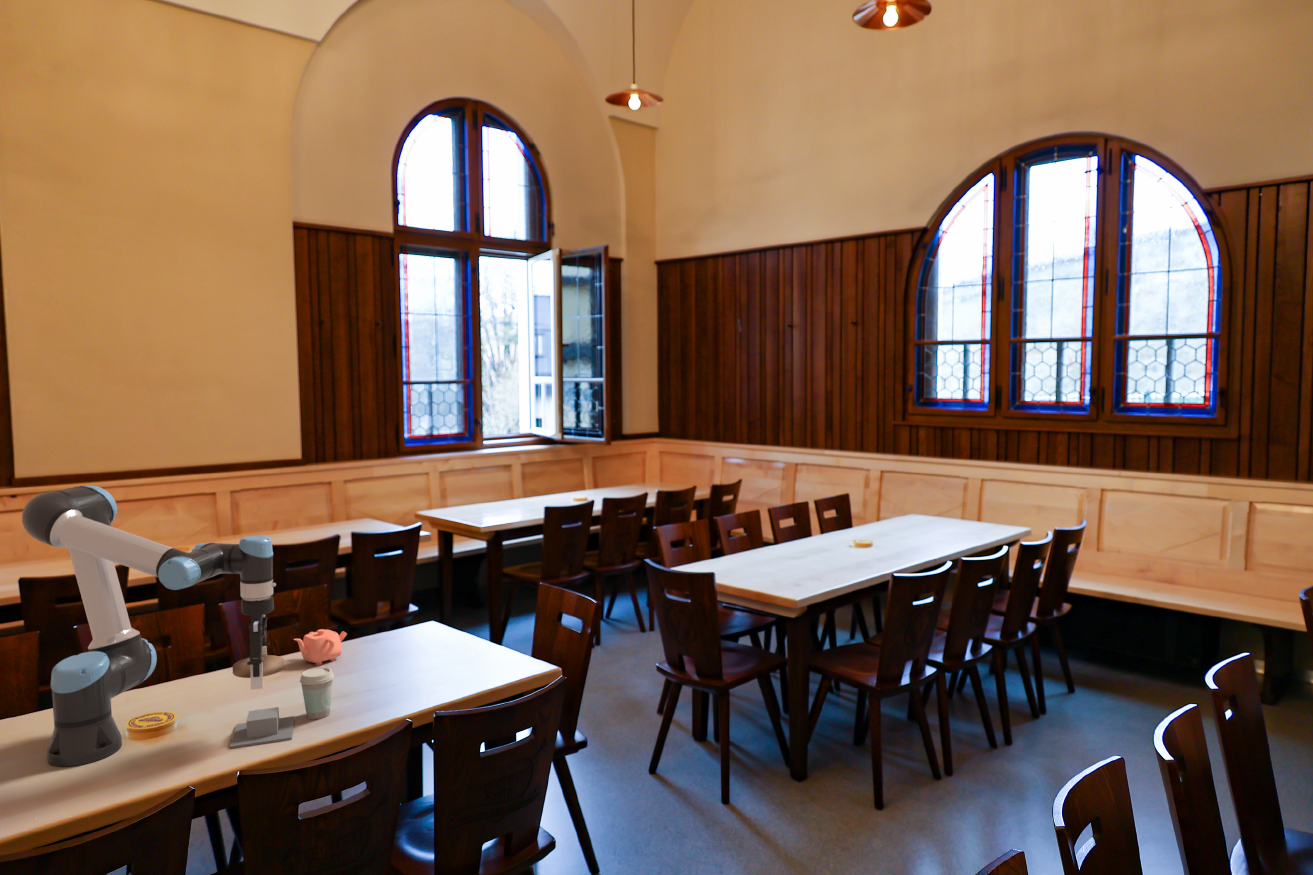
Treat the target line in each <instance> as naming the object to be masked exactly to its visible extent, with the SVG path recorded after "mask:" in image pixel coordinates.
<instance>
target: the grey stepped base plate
mask: <svg viewBox="0 0 1313 875" xmlns="http://www.w3.org/2000/svg"><path fill="white" fill-rule="evenodd" d="M279 709H280V708H279V706H276V707H269V708H262V709H255V710H249V711H248V714H247V717H246V720H245V721H246V722H243V723H236V724H235V728H234V732H233V734H232V738H231V740H230V741H231V742H230V744H229V749H230V750H232V749H236V748H237V749H238V748H245V747H251V746H258V745H265V744H270V743H271V744H272V743H278V742H284V741H292V739H293V733H294V732H293V731H294V726H295V715H294V716H293V715H292V716H288V717H287V716H286V717H280V710H279Z"/></svg>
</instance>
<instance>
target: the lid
mask: <svg viewBox="0 0 1313 875" xmlns="http://www.w3.org/2000/svg"><path fill="white" fill-rule="evenodd" d="M253 659H258V658H253ZM249 661H250V656H249V657H246V658H241V659H240V660H238V661H236V662H235V663H233V664H232V674H233V676H235V677H238V678H244V679H251V673H250V665H247V662H249ZM262 662H263V678H264V677H268V676H271V675H275V674H277V673H280V672H281V671H283V670H284V669H285V658H284V657H282V656H278V655H273V654H271V655H270V654H267V655H263V656H262Z"/></svg>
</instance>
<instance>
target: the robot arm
mask: <svg viewBox="0 0 1313 875" xmlns="http://www.w3.org/2000/svg"><path fill="white" fill-rule="evenodd" d="M114 498H115V497H113V496H112V494H111V493H110V492H109V491H108V490H106V489H104V488H102V487H100V486H97V485H80V486H79V485H76V486H74V487H69V488H63V489H58V490H53V491H46V492H43V493H39V494H38V495H35V496H34V497H33V498H31V499H30V500H29V501H28V502H27V503H26V504H25V506H24V508H23V510H22V514H21V523H22V526H23V528H24V530H25V532H26V533H27V534H28V535H29V536H31V537H32V538H33V539H35V540H37V541H39V542H41V543H43V544H46V545H49V546H53V547H55V548H65V549H67V550H68V552H69V556H70V560H71V563H72V566H73V571H74V574H75V578H76V582H77V585H78V588H79V592H80V595H81V600H82V603H83V607H84V610H85V614H86V618H87V619H86V620H87V622H88V626H89V630H90V633H91V636H92V640H91V641H90V643H89V645H88V646H87V650H88V651H86V652H81V653H79V654H77V655H76V654H74V655H71V656H68V657H66V658H64V659H62V660H60V661H59V662H58V663H57V664H55V665H54V666H53V668H52V670H51V675H50V676H51V678H50V688H51V699H52V711H53V713H52V714H53V724H54V725H53V726H54V728H53V730H52V735H51V738H50V741H49V745H48V747H47V751H46V757H47V758H46V759H47V763H48V764H50V765H51V766H55V767H73V766H81V765H84V764H85V765H86V764H89V763H93V762H96V761H99V760H102V759H105V758H107V757H109V756H111V755H114V754H115V753H116V752H118V751H119V750H120V749H121V748H122V746H123V741H122V740H123V738H122V734H121V731H120V730H119V727H118V726H117V724H116V722H115V720H114V717H113V716H112V715H113V713H112V699H113V698H114V697H117V696H118V695H120V694H122V693H124V692H126V691H128V690H130V689H132V688H134V687H137V686H138V685H140V684H142V683H143V682H144V681H146V680H147V679H149V677H150V676H151V675H152V673H153V672H154V671H155V669H156V665H157V661H158V660H157V659H158V658H157V651H156V649H155V647H154V645H153V644H152V643H150V642H148V640H147V639H146V638H142V635H141V633H140V631H139V630H137V629H135V628H133V627H132V626H131V625H132V624H131V622H130V618H129V614H128V611H127V606H126V603H125V599H124V595H123V592H122V588H121V584H120V581H119V577H118V573H117V570H116V566H115V563H116V564H119V565H122V566H124V567H128V568H131V569H133V570H137V571H138V572H141V573H145V574H148V575H150V576H154V577H156V578H158V580H159V582H160V583H161V584H162V585H163V586H164V587H165V588H166V589H168V590H172V591H177V590H182V589H186V588H187V589H188V588H189V587H192V586H193V585H195V584H198V583H200V582H203V581H205V580H207V579H210V578H213V577H215V576H217V575H219V574H220V575H221V574H232V575H233V574H236V575H238V574H239V576H240V581H239V582H240V586H239V588H240V597H241V600H240V608H241V609H240V611H241V614H242V615H244V616H250V617H251V618H250V617H249V621H248V628H249V634H248V636H249V657H250V661H249V662H247V665H250V673H251V678H250V690H259V689H264V677H263V662H262V656H263V655H268V652H267V650H268V649H267V647H268V646H269V645H270V640H268V637H267V628H268V627H267V624H268V617H267V616H266V615H267V614H270V613H272V612H273V611H274V610H275V603H274V600H275V599H274V596H273V594H274V587H276V586H277V583H276V582H274V573H273V572H274V568H273V567H274V562H273V561H274V560H273V558H274V551H273V542H272V540H273V539H272V538H271V537H269V536H268V535H265V534H264V535H261V534H259V535H246V536H243V537H241V538H240V539H239V543H223V542H222V543H221V542H220V543H217V542H214V541H213V542H207V543H206V542H202V543H198V544H196V545H195V547H194V548H193V549H192V550H191V551H190V552H186V551H184V550H181V549H177V548H175V547H172V546H169V545H166V544H162V543H160V542H158V541H153V540H151V539H149V538H147V537H146V538H145V537H142V536H140V535H137V534H134V533H131V532H130V531H129V532H128V531H125V530H123V529H120V528H117V527H114V526H112V525H111V524H112V523H113V522H114V521H115V519H116V518H115V517H116V516H117V515H118V514H117V513H118V506H117V502H116V501H115V499H114ZM253 658H258V659H253Z"/></svg>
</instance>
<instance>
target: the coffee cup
mask: <svg viewBox="0 0 1313 875" xmlns="http://www.w3.org/2000/svg"><path fill="white" fill-rule="evenodd" d="M334 678H335V675H334V672H333V670H332V668H330V667H328V666H327V667H325V666H319V667H318V666H317V667H313V668H309V669H307V670H304V671H303V672H301V676H300V679H299V683H300V685H301V690H302V696H303V701H304V702H303V703H304V707H305V708H304V709H305V713H306V714H305V715H306V718H307V719H310V720H320V719H323V718H326V717H327V718H328V716H329V715H330V714H331V705H332V694H333V692H332V691H333V682H334V681H333V680H334Z"/></svg>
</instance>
